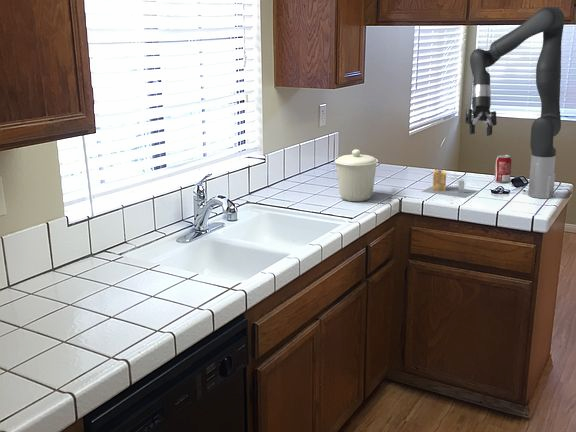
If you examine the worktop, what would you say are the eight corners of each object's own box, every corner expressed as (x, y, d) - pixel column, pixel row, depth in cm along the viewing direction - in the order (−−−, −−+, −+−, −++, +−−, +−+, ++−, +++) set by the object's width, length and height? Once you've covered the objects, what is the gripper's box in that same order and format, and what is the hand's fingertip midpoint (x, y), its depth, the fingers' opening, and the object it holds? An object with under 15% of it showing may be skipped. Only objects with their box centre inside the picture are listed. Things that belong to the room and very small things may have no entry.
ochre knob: (444, 188, 276) (445, 169, 274) (445, 191, 272) (446, 172, 269) (432, 188, 277) (433, 169, 275) (433, 190, 272) (434, 172, 270)
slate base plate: (478, 194, 271) (478, 190, 270) (465, 201, 260) (465, 197, 260) (435, 188, 283) (435, 184, 283) (420, 194, 272) (420, 191, 272)
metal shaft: (463, 192, 269) (463, 180, 267) (463, 193, 267) (464, 181, 266) (458, 192, 269) (458, 180, 268) (458, 193, 268) (459, 181, 266)
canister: (363, 206, 257) (363, 155, 251) (326, 200, 268) (325, 151, 262) (385, 196, 271) (386, 147, 265) (349, 191, 282) (349, 144, 276)
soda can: (511, 183, 288) (513, 157, 284) (496, 183, 288) (498, 157, 285) (507, 179, 294) (509, 154, 291) (492, 180, 294) (494, 154, 291)
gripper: (473, 93, 265) (472, 132, 265) (500, 96, 270) (500, 134, 270) (462, 97, 272) (461, 134, 272) (489, 99, 277) (488, 137, 277)
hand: (480, 134), depth 271 cm, fingers open, 8 cm apart
